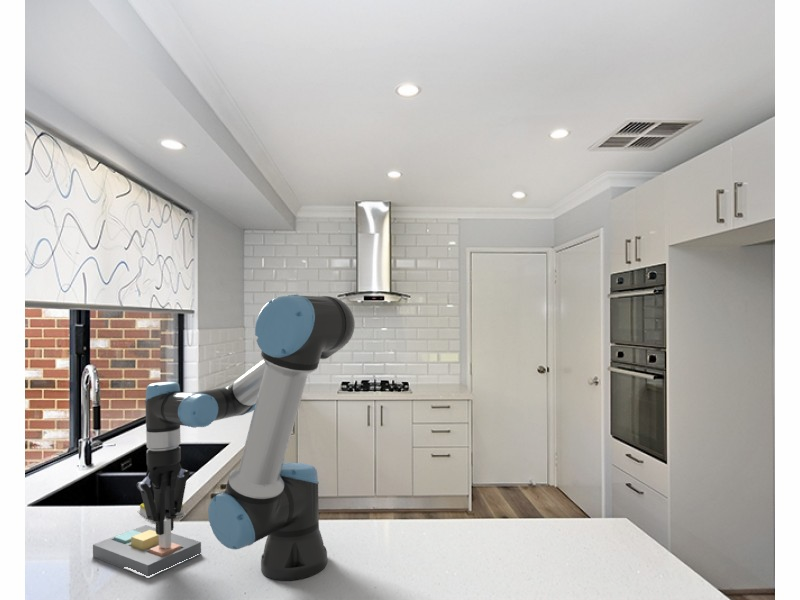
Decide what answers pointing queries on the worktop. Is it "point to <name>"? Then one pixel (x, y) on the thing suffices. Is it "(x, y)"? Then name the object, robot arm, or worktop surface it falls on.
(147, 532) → the yellow button
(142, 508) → the emergency button
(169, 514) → the robot arm
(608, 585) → the worktop surface
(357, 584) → the worktop surface
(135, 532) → the teal button
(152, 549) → the terracotta button
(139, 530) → the button panel
